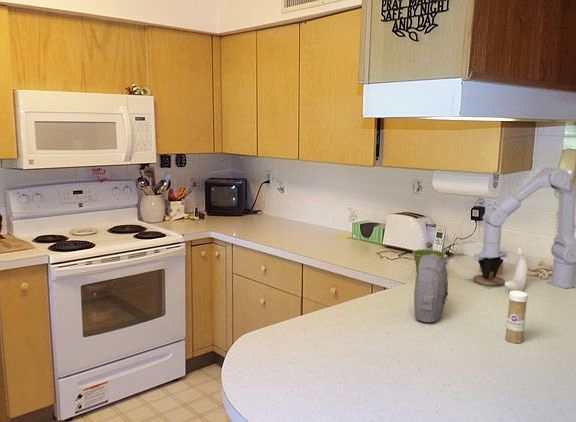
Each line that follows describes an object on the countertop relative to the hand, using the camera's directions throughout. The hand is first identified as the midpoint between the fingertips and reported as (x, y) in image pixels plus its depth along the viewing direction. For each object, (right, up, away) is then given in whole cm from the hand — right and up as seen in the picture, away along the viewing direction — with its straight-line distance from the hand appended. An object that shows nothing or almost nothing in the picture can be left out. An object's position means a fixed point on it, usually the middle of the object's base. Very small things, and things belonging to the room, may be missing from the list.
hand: (489, 277), depth 190 cm
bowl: (+7, 0, +15) cm, 16 cm away
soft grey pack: (-32, -8, -37) cm, 49 cm away
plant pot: (-23, -2, 0) cm, 23 cm away
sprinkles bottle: (-13, -11, -52) cm, 54 cm away
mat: (0, -2, 0) cm, 2 cm away
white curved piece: (+6, -4, -9) cm, 11 cm away
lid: (0, -1, 0) cm, 1 cm away
